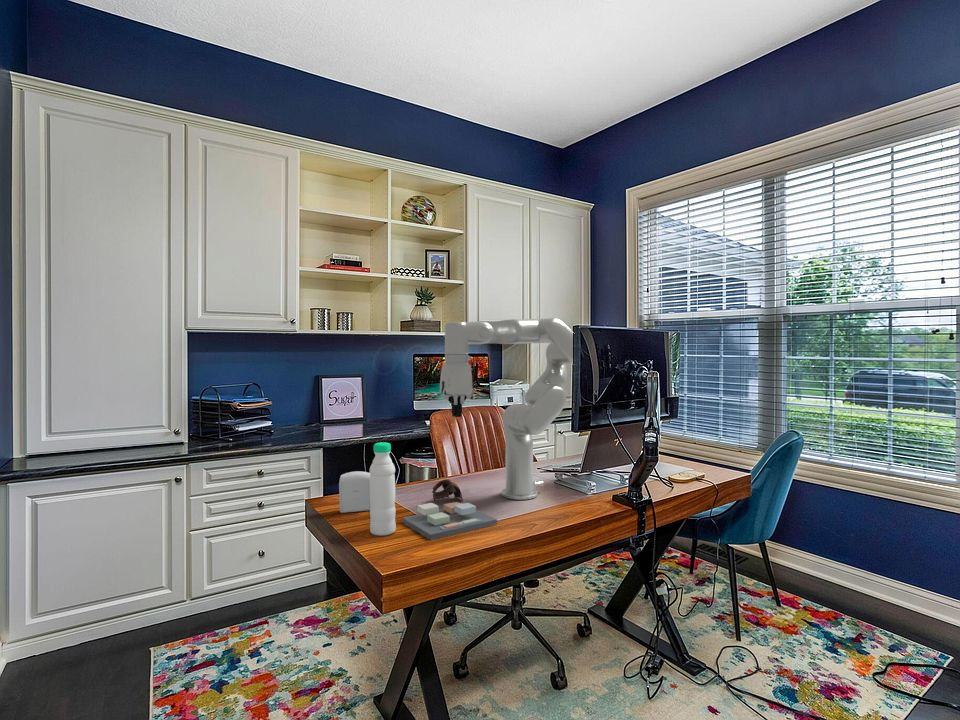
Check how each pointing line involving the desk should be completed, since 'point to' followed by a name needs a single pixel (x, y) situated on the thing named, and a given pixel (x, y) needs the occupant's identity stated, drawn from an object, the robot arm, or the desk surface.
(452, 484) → the brown arched ornament
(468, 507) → the blue key
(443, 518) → the sage key
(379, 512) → the water bottle
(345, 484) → the photo printer
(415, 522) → the keypad
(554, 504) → the desk surface
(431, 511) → the cream key
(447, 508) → the terracotta key
